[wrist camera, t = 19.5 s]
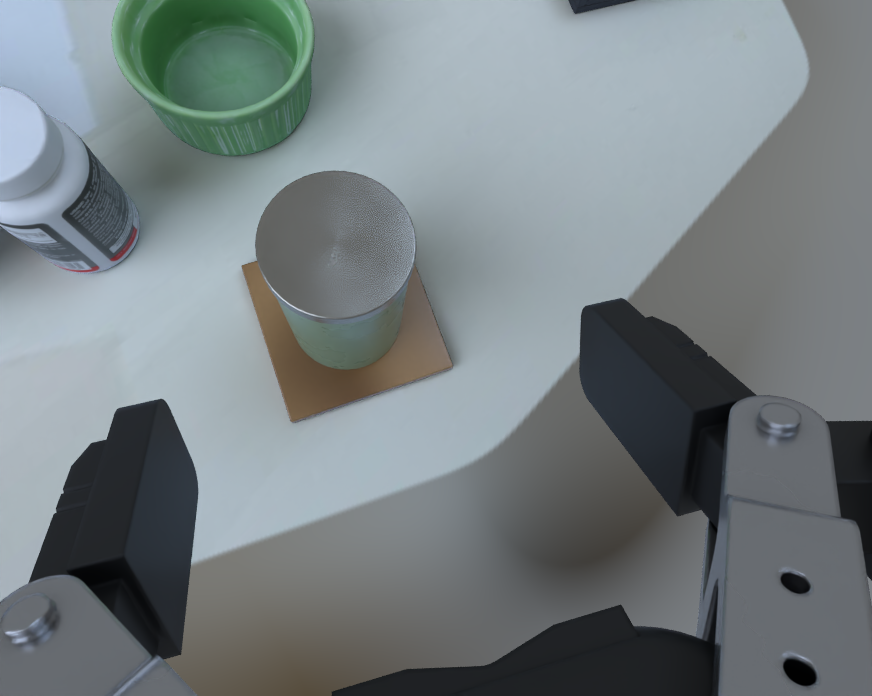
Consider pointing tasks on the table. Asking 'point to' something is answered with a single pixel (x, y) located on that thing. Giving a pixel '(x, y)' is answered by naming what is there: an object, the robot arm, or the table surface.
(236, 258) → the table surface
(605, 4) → the tray
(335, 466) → the table surface
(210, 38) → the ramekin
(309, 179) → the tin
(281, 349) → the coaster
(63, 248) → the pill bottle
